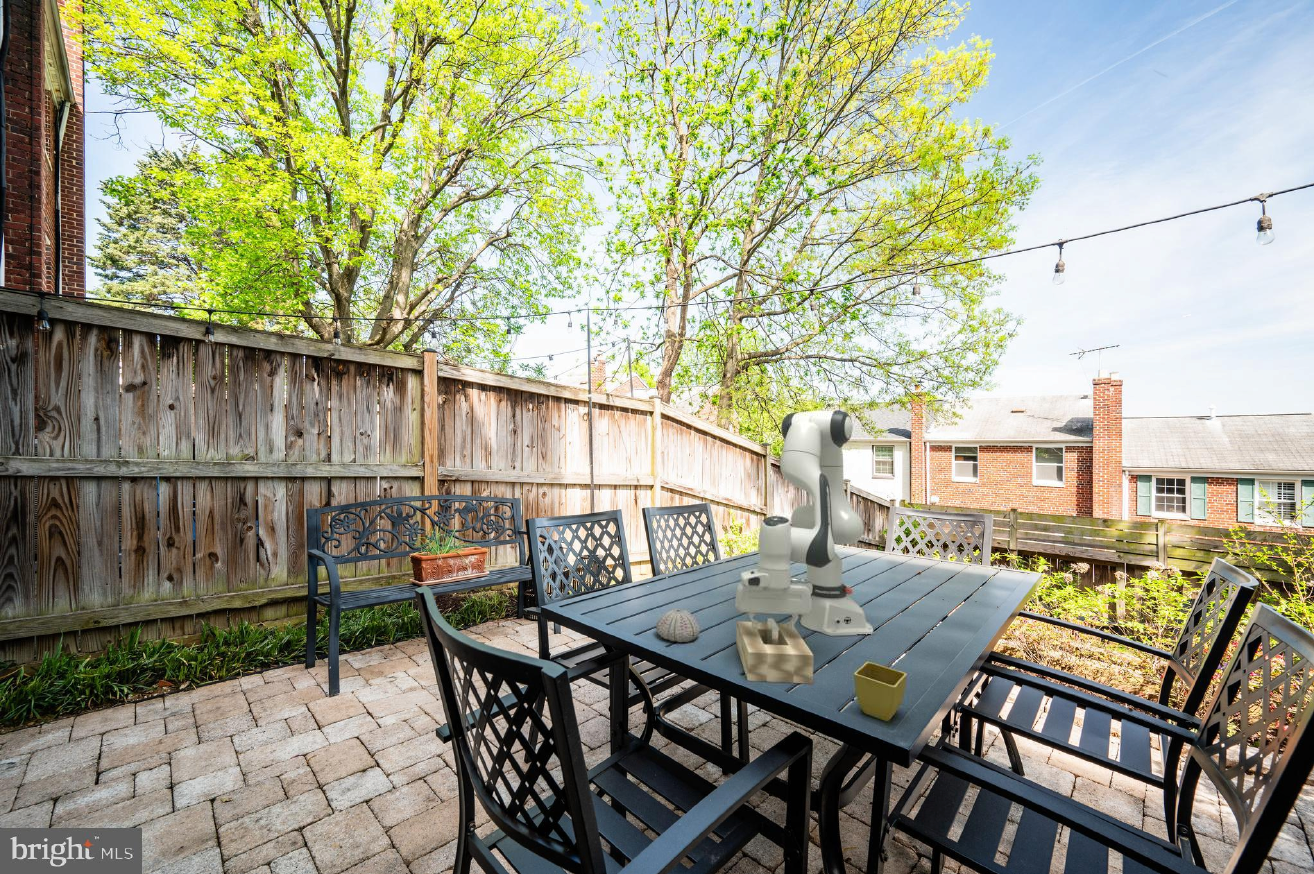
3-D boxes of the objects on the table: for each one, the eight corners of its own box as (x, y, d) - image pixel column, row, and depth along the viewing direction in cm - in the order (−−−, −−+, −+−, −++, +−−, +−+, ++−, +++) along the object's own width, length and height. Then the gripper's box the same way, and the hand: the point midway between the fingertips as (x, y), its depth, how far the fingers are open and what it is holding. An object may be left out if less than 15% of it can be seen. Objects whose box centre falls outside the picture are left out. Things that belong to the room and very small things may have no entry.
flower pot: (894, 730, 105) (895, 686, 105) (852, 714, 111) (853, 672, 111) (906, 714, 112) (907, 673, 112) (866, 699, 118) (867, 661, 118)
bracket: (776, 654, 139) (777, 618, 139) (781, 665, 132) (783, 627, 132) (761, 654, 139) (762, 617, 140) (766, 665, 132) (767, 627, 133)
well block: (791, 647, 147) (792, 623, 147) (812, 683, 125) (813, 655, 125) (736, 645, 147) (737, 621, 147) (747, 680, 125) (748, 652, 125)
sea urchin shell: (673, 625, 162) (674, 600, 162) (708, 636, 153) (709, 610, 153) (646, 636, 152) (647, 609, 152) (682, 649, 143) (683, 621, 143)
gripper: (809, 576, 139) (808, 626, 139) (735, 573, 140) (733, 623, 139) (816, 582, 133) (814, 635, 133) (738, 579, 133) (736, 631, 133)
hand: (772, 629), depth 136 cm, fingers open, 8 cm apart
